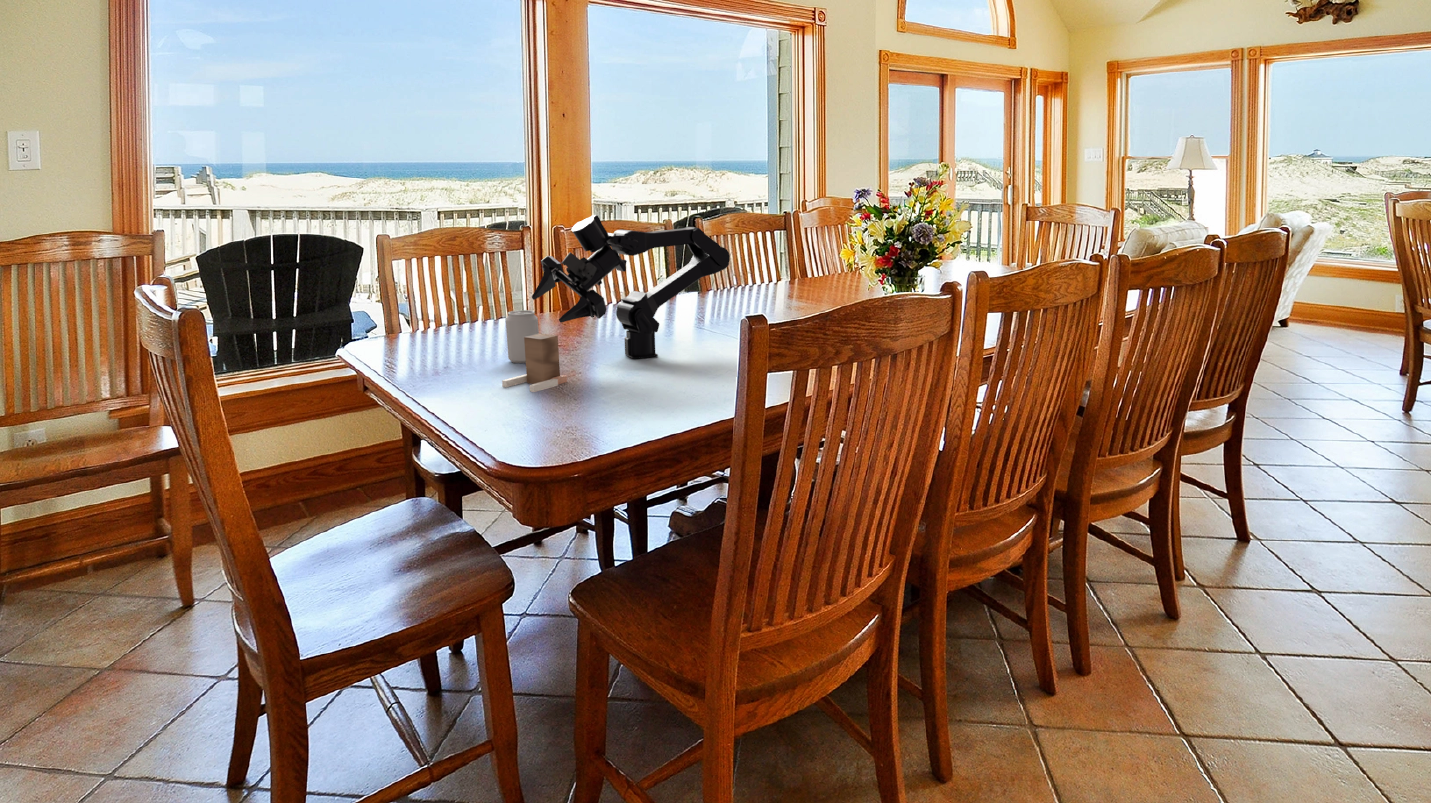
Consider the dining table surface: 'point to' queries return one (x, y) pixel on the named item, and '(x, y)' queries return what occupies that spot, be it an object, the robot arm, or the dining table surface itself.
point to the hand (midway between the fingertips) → (546, 309)
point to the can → (519, 333)
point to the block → (541, 357)
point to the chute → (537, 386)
